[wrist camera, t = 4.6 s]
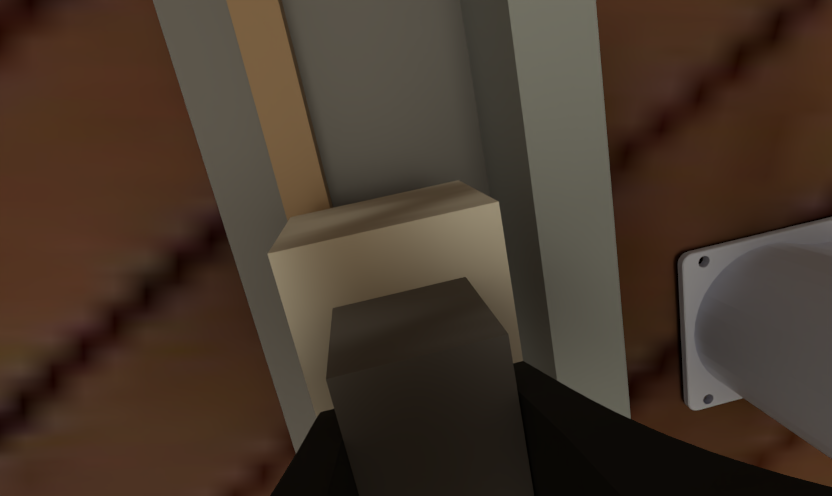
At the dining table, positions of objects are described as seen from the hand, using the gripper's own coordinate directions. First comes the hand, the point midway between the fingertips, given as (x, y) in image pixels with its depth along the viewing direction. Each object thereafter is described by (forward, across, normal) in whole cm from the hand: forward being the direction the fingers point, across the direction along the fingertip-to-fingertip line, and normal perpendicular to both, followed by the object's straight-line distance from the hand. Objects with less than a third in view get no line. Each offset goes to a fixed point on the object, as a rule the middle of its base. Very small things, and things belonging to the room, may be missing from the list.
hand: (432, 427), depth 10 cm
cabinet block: (+6, 0, 0) cm, 6 cm away
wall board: (+10, -1, 0) cm, 10 cm away
